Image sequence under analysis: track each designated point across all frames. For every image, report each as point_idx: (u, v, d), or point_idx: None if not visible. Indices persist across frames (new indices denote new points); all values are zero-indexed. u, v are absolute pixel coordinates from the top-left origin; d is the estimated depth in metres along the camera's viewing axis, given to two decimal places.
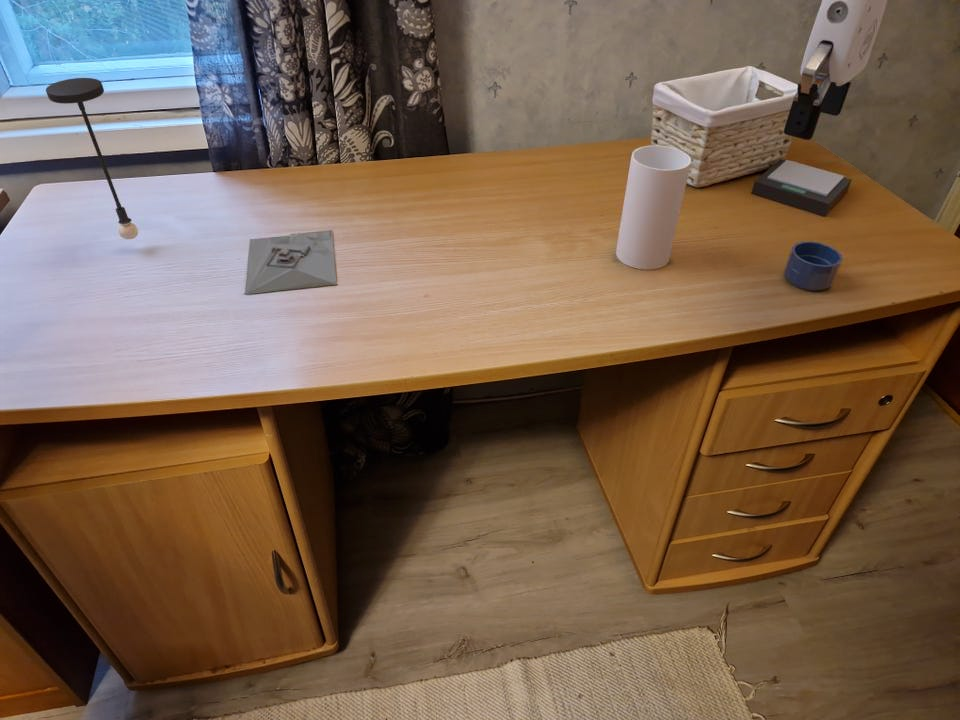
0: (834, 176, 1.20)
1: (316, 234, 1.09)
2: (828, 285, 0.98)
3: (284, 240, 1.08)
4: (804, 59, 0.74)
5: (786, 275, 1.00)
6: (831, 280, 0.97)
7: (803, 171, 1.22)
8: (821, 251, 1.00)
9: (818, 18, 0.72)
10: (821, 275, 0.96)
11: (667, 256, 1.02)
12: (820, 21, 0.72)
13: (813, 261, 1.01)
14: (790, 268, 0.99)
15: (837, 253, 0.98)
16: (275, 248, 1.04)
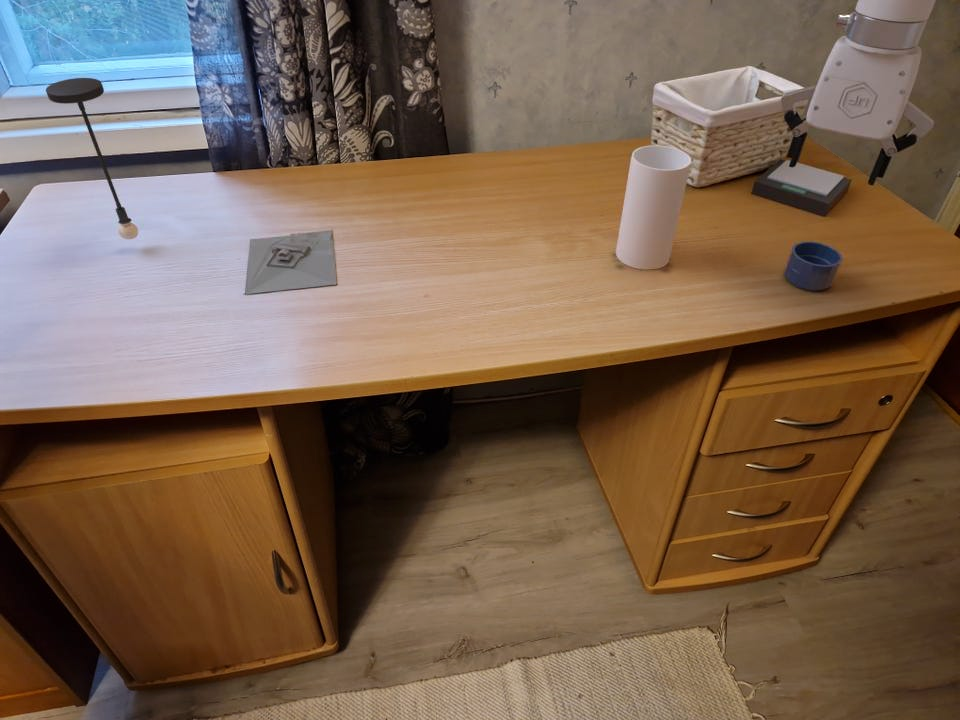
0: (834, 176, 1.20)
1: (316, 234, 1.09)
2: (828, 285, 0.98)
3: (284, 240, 1.08)
4: None
5: (786, 275, 1.00)
6: (831, 280, 0.97)
7: (803, 171, 1.22)
8: (821, 251, 1.00)
9: None
10: (821, 275, 0.96)
11: (667, 256, 1.02)
12: None
13: (813, 261, 1.01)
14: (790, 268, 0.99)
15: (837, 253, 0.98)
16: (275, 248, 1.04)
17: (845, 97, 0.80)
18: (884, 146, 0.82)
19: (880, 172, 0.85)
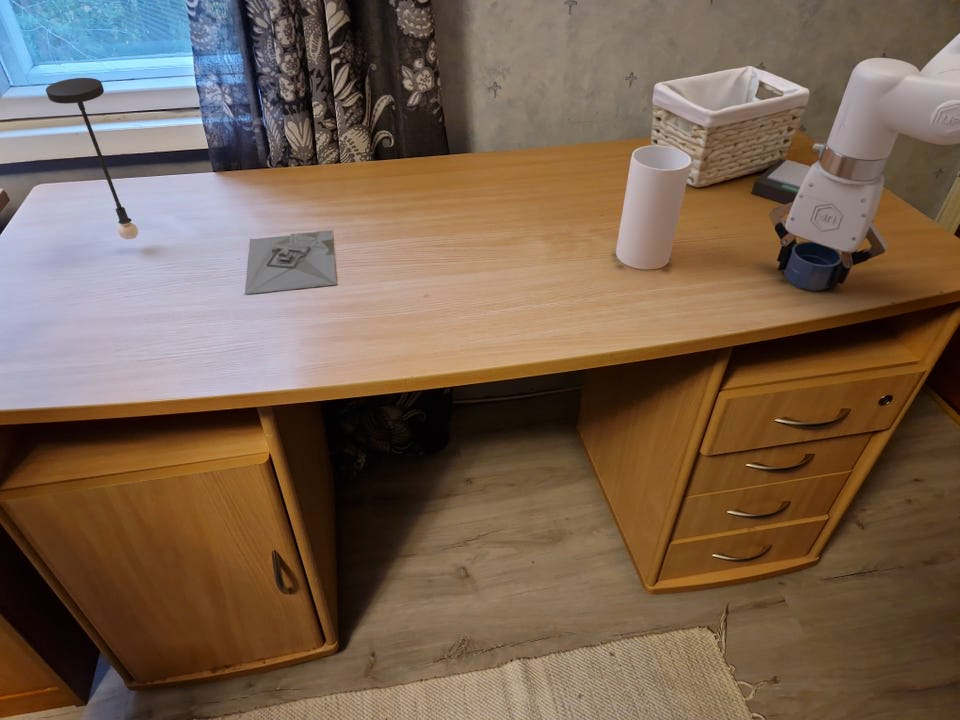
0: None
1: (316, 234, 1.09)
2: (828, 285, 0.98)
3: (284, 240, 1.08)
4: None
5: (786, 275, 1.00)
6: (831, 280, 0.97)
7: (803, 171, 1.22)
8: (821, 251, 1.00)
9: None
10: (821, 275, 0.96)
11: (667, 256, 1.02)
12: None
13: (813, 261, 1.01)
14: (790, 268, 0.99)
15: (837, 253, 0.98)
16: (275, 248, 1.04)
17: (816, 213, 0.92)
18: (842, 259, 0.94)
19: (840, 279, 0.97)
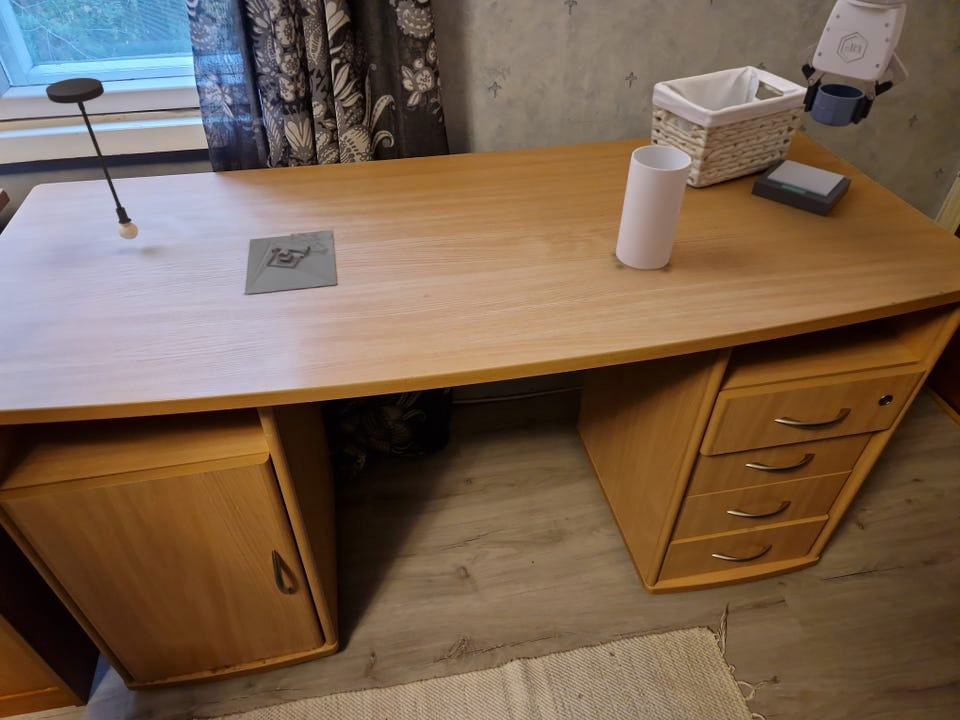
0: (834, 176, 1.20)
1: (316, 234, 1.09)
2: (852, 120, 1.05)
3: (284, 240, 1.08)
4: None
5: (812, 114, 1.07)
6: None
7: (803, 171, 1.22)
8: (844, 92, 1.07)
9: None
10: (846, 108, 1.03)
11: (667, 256, 1.02)
12: None
13: None
14: (816, 106, 1.06)
15: (860, 91, 1.05)
16: (275, 248, 1.04)
17: (842, 44, 0.99)
18: None
19: (863, 113, 1.04)
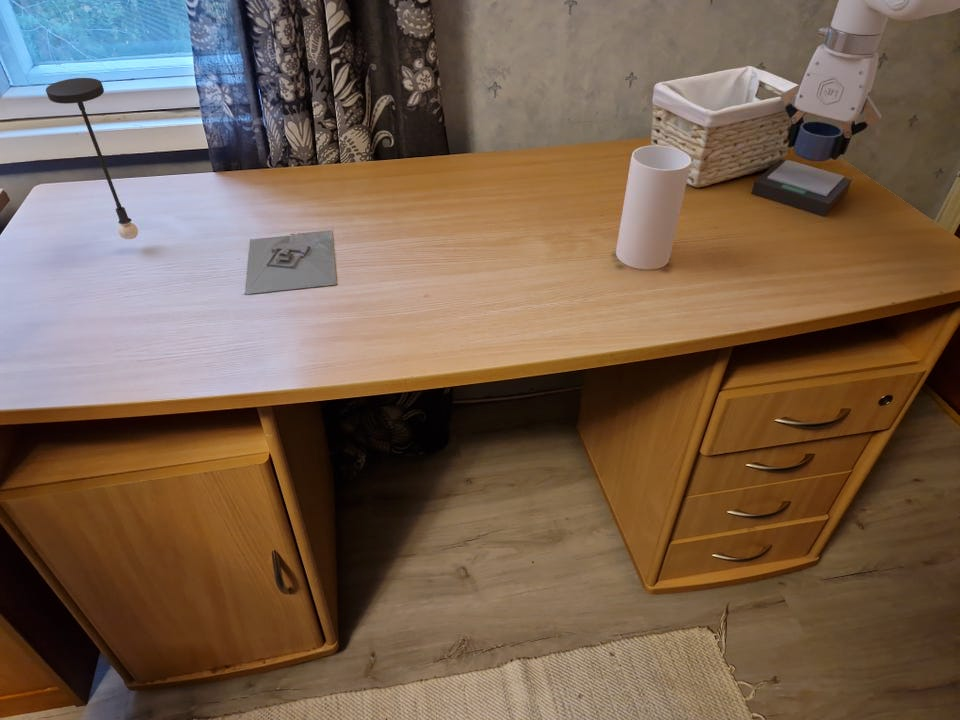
0: (834, 176, 1.20)
1: (316, 234, 1.09)
2: (831, 156, 1.15)
3: (284, 240, 1.08)
4: None
5: (795, 149, 1.17)
6: (833, 151, 1.14)
7: (803, 171, 1.22)
8: (825, 129, 1.17)
9: None
10: (825, 145, 1.13)
11: (667, 256, 1.02)
12: None
13: None
14: (798, 142, 1.15)
15: (838, 129, 1.15)
16: (275, 248, 1.04)
17: (821, 88, 1.09)
18: None
19: (841, 150, 1.13)
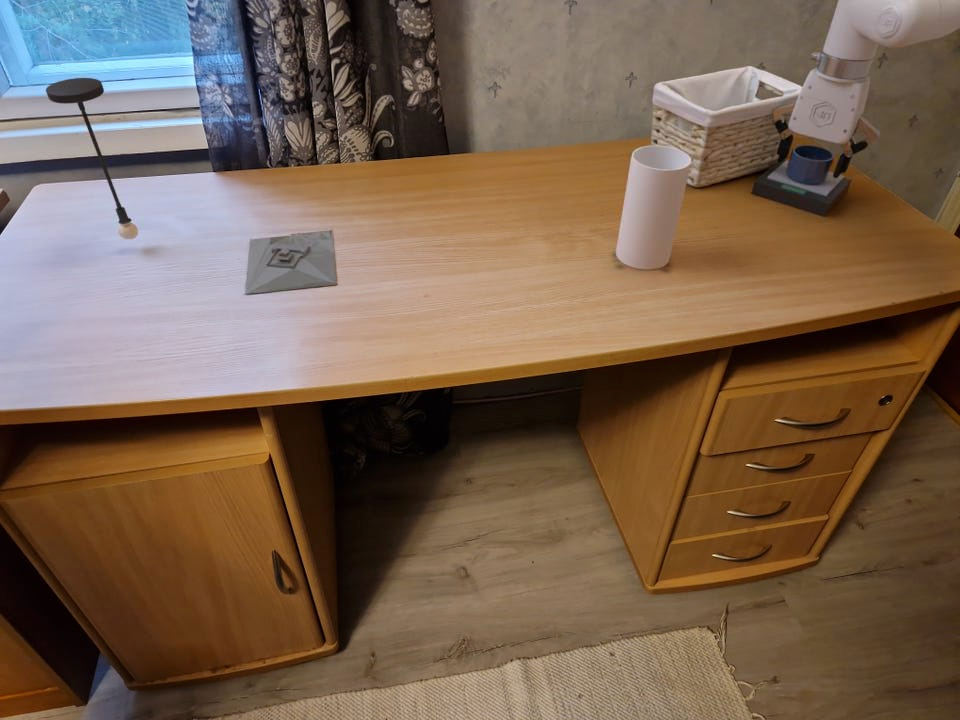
0: None
1: (316, 234, 1.09)
2: (823, 179, 1.17)
3: (284, 240, 1.08)
4: None
5: (788, 173, 1.19)
6: (825, 175, 1.17)
7: None
8: (817, 153, 1.20)
9: None
10: (817, 169, 1.16)
11: (667, 256, 1.02)
12: None
13: None
14: (791, 166, 1.18)
15: (830, 153, 1.17)
16: (275, 248, 1.04)
17: (814, 111, 1.11)
18: (843, 149, 1.12)
19: (842, 168, 1.15)
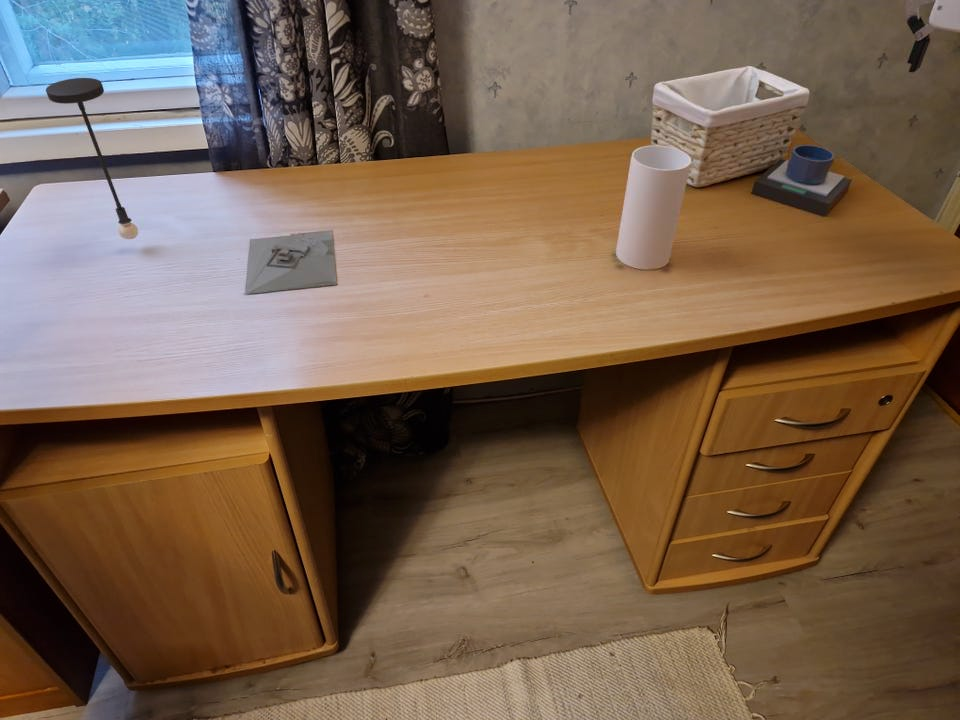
0: (834, 176, 1.20)
1: (316, 234, 1.09)
2: (823, 179, 1.17)
3: (284, 240, 1.08)
4: None
5: (788, 173, 1.19)
6: (825, 175, 1.17)
7: None
8: (817, 153, 1.20)
9: None
10: (817, 169, 1.16)
11: (667, 256, 1.02)
12: None
13: None
14: (791, 166, 1.18)
15: (830, 153, 1.17)
16: (275, 248, 1.04)
17: None
18: None
19: None
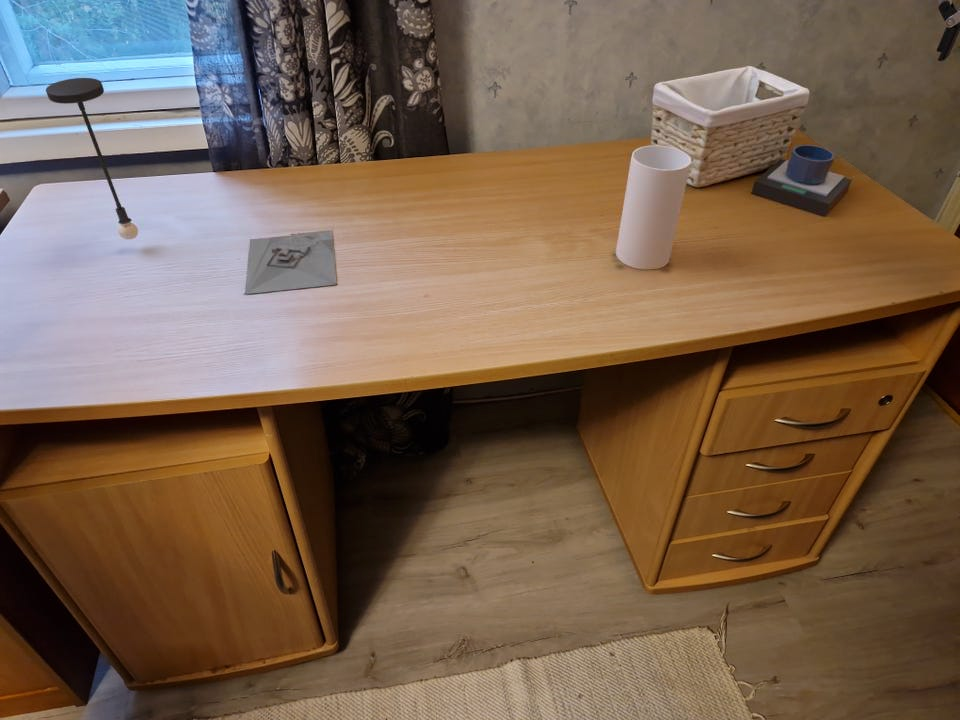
0: (834, 176, 1.20)
1: (316, 234, 1.09)
2: (823, 179, 1.17)
3: (284, 240, 1.08)
4: None
5: (788, 173, 1.19)
6: (825, 175, 1.17)
7: None
8: (817, 153, 1.20)
9: None
10: (817, 169, 1.16)
11: (667, 256, 1.02)
12: None
13: None
14: (791, 166, 1.18)
15: (830, 153, 1.17)
16: (275, 248, 1.04)
17: None
18: None
19: None
